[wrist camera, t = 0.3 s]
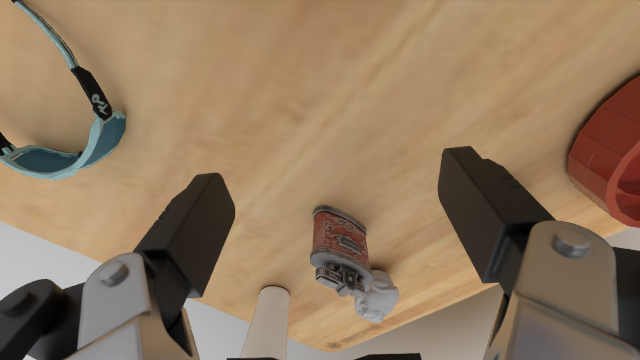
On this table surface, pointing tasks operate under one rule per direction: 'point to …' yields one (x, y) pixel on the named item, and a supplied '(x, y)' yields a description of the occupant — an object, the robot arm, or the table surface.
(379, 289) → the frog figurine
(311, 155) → the table surface
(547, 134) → the table surface
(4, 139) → the sunglasses
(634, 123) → the bowl
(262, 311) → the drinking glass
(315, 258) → the lighter
